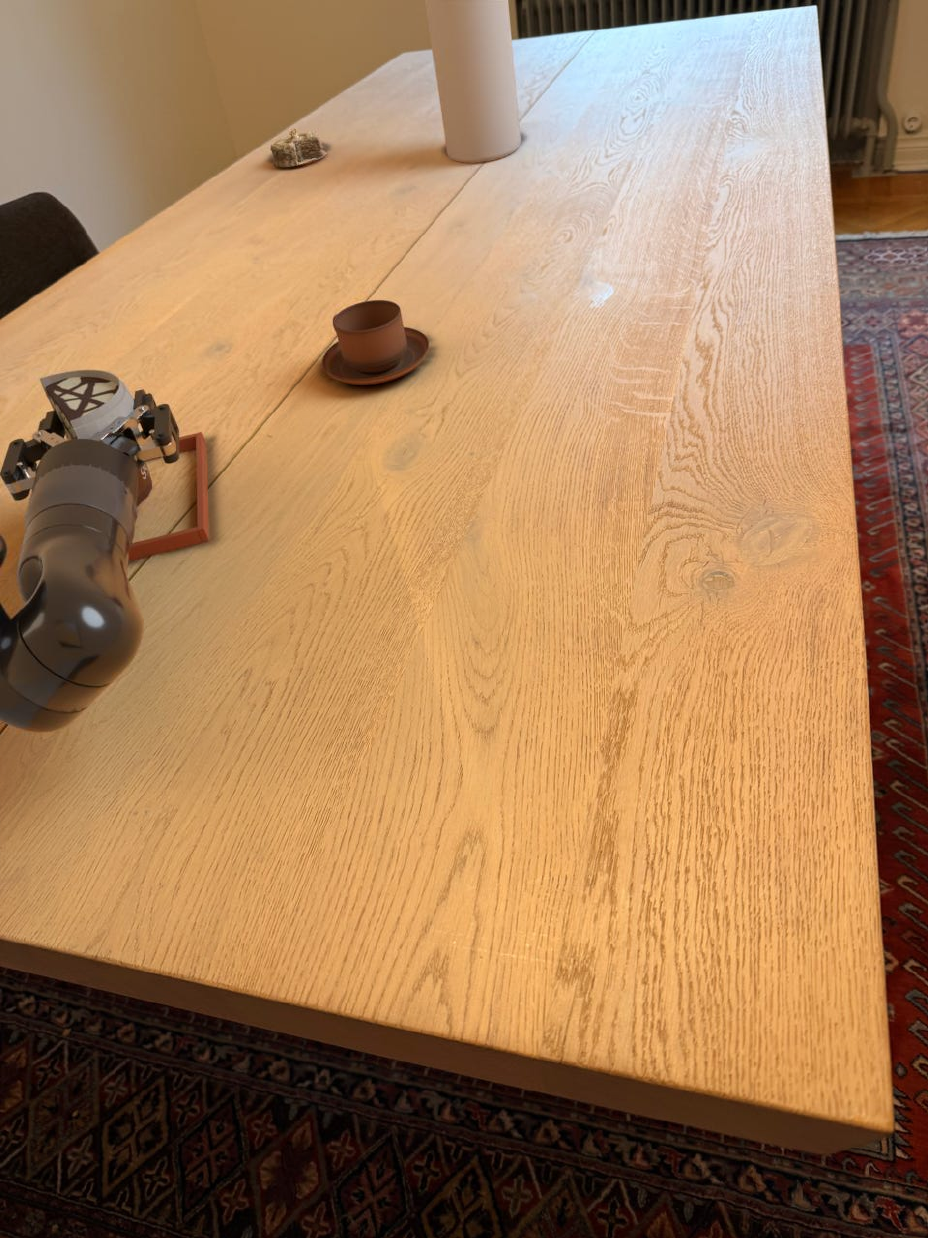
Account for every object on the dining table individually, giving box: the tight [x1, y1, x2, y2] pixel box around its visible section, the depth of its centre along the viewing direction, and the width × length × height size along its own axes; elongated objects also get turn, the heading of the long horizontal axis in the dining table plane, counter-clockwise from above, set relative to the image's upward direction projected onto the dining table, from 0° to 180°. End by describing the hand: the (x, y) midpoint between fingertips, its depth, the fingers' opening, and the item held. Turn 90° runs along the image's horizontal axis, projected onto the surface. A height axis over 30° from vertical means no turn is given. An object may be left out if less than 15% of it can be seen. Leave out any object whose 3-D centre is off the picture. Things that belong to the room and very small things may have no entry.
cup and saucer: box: [321, 299, 430, 386], centre depth 99 cm, size 12×12×6 cm
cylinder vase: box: [424, 0, 522, 164], centre depth 144 cm, size 12×12×25 cm
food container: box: [39, 369, 153, 508], centre depth 81 cm, size 12×6×10 cm, turn 34°
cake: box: [270, 128, 328, 168], centre depth 163 cm, size 10×10×5 cm
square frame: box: [128, 431, 210, 563], centre depth 86 cm, size 13×17×2 cm
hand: (100, 409), depth 81 cm, fingers closed on food container, 7 cm apart
